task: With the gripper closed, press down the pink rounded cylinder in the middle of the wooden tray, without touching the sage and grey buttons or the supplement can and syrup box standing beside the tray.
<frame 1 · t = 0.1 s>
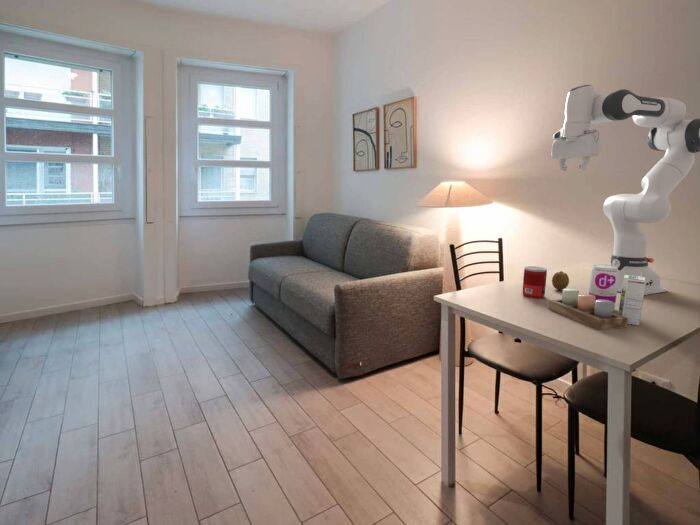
hand: (572, 170, 152), 48 cm above the table, tool pointing down, fingers open, 8 cm apart
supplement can: (600, 309, 142), on the table
syrup box: (628, 322, 128), on the table
fruit: (559, 290, 167), on the table
sage button: (570, 297, 138), point 5 cm above the table, slide at 0.0 cm
wooden tray: (584, 317, 132), on the table
grey button: (603, 309, 125), point 5 cm above the table, slide at 0.0 cm
canned food: (533, 296, 158), on the table
pink rounded cylinder: (586, 303, 131), point 5 cm above the table, slide at 0.0 cm
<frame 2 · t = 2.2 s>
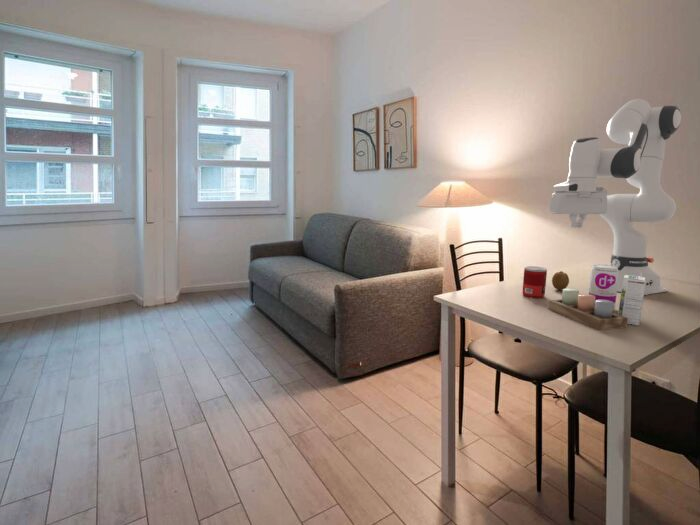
hand: (576, 227, 140), 28 cm above the table, tool pointing down, fingers closed
nothing on the table moved.
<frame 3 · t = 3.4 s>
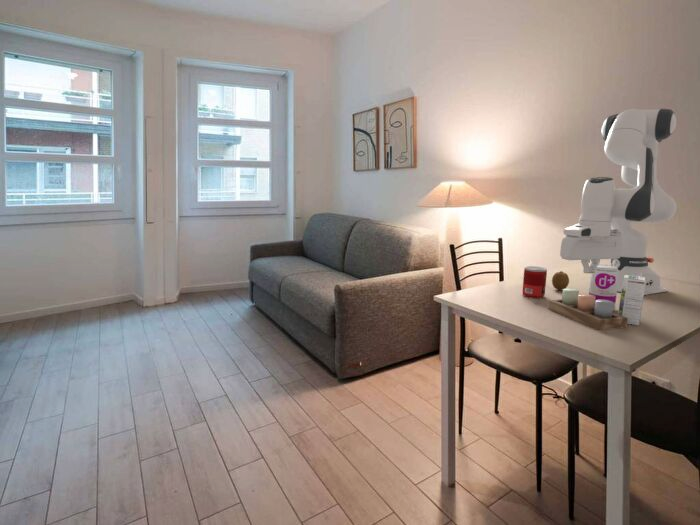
hand: (589, 273, 129), 15 cm above the table, tool pointing down, fingers closed
nothing on the table moved.
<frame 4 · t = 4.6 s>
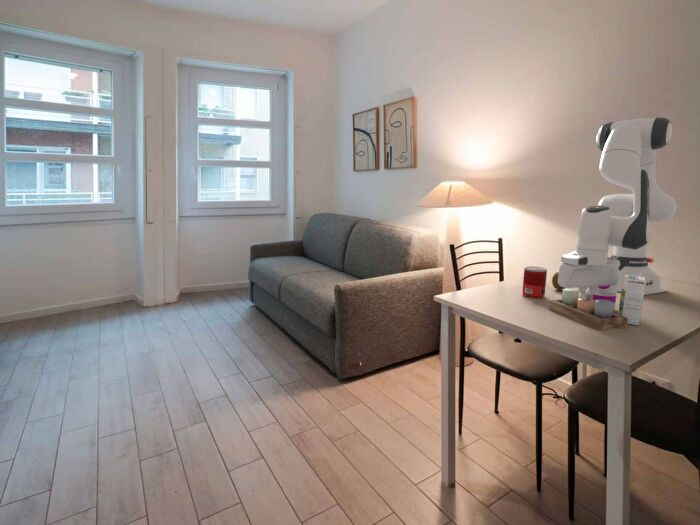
hand: (586, 299, 131), 6 cm above the table, tool pointing down, fingers closed, pressing on pink rounded cylinder
pink rounded cylinder: (585, 307, 132), point 3 cm above the table, slide at 1.4 cm, touching gripper
everything else where it was.
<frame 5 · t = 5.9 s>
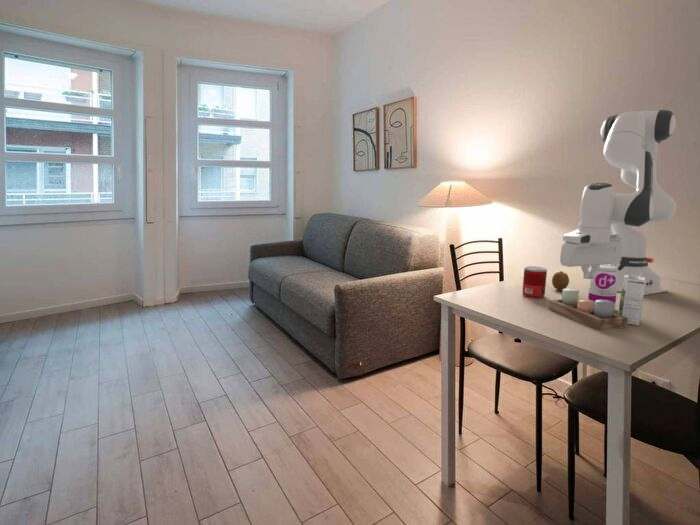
hand: (589, 278, 130), 13 cm above the table, tool pointing down, fingers closed
pink rounded cylinder: (585, 308, 132), point 3 cm above the table, slide at 1.8 cm
everything else where it was.
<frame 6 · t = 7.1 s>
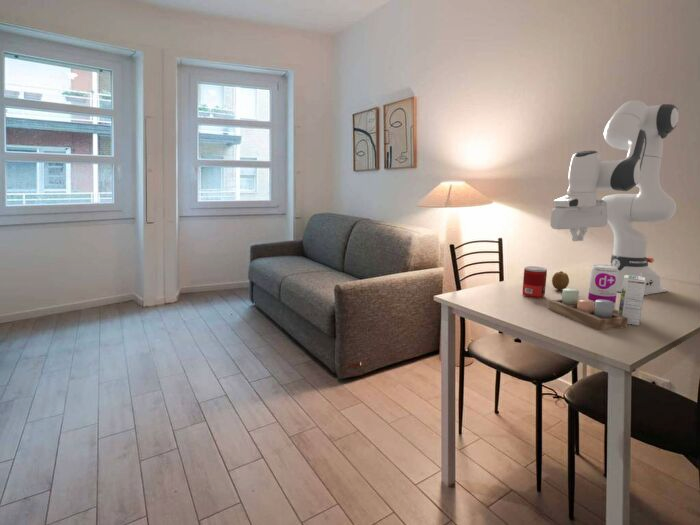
hand: (577, 241, 139), 24 cm above the table, tool pointing down, fingers closed
nothing on the table moved.
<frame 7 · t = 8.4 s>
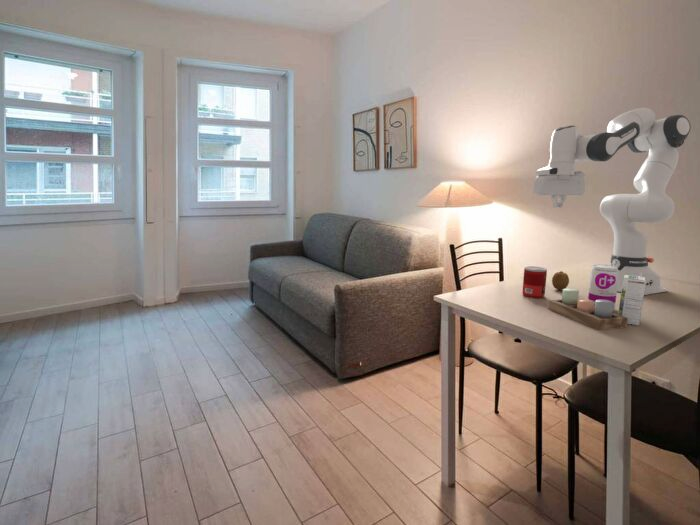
hand: (557, 207, 156), 34 cm above the table, tool pointing down, fingers closed
nothing on the table moved.
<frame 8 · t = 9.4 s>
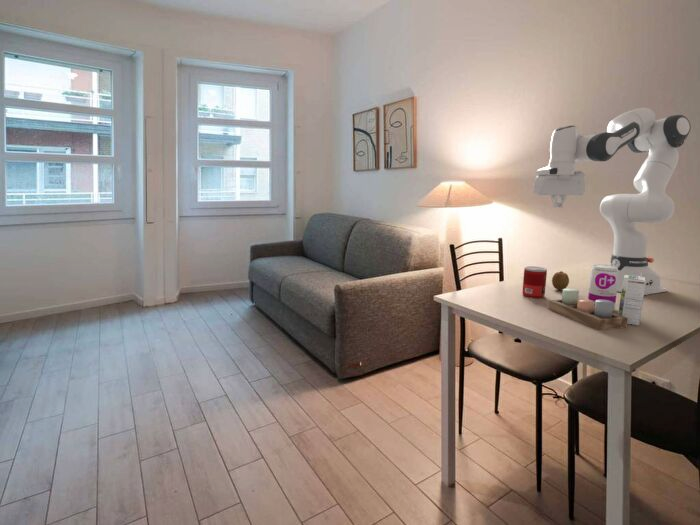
hand: (557, 207, 156), 34 cm above the table, tool pointing down, fingers closed
nothing on the table moved.
at the end: pink rounded cylinder slide at 1.8 cm; sage button slide at 0.0 cm; grey button slide at 0.0 cm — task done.
